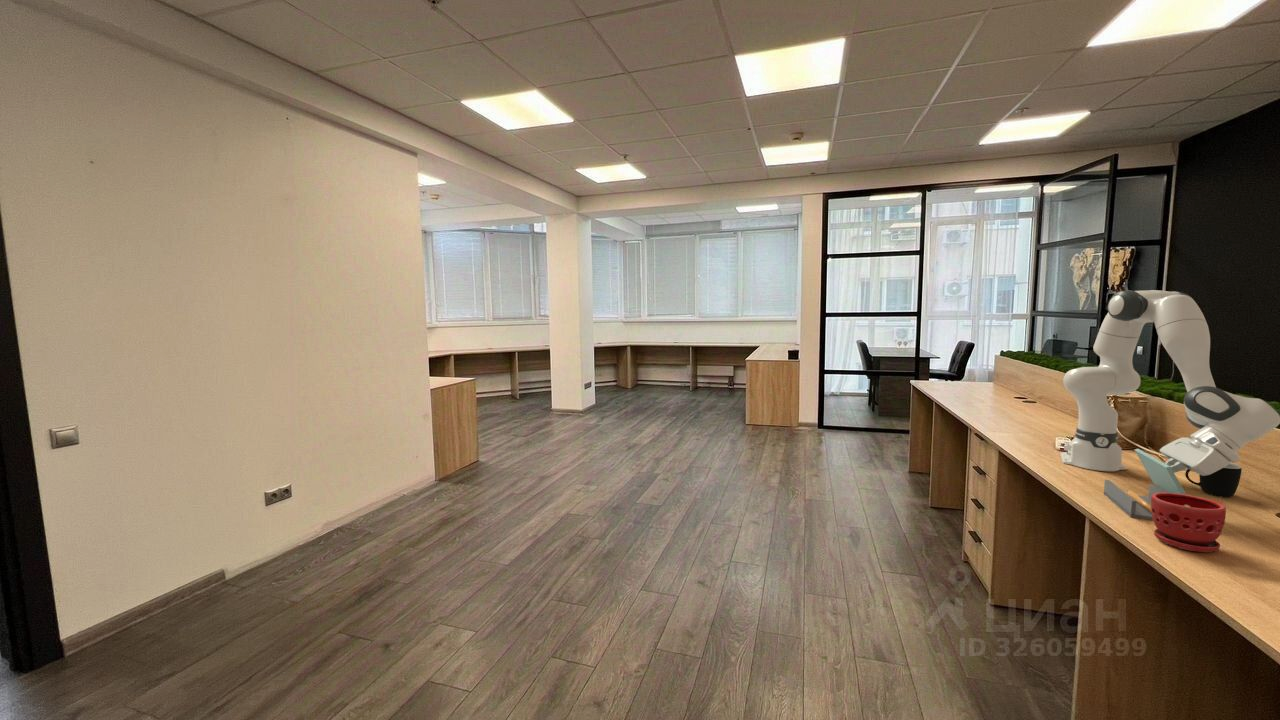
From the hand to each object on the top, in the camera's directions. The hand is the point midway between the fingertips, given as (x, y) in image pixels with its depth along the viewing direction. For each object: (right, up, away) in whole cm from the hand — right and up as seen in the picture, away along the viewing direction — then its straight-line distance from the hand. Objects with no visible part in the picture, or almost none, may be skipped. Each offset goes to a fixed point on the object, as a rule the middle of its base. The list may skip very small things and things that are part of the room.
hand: (1163, 472), depth 150 cm
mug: (+31, -10, +15) cm, 36 cm away
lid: (0, -1, +1) cm, 2 cm away
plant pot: (-16, -15, -20) cm, 29 cm away
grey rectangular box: (-3, -12, +3) cm, 13 cm away
